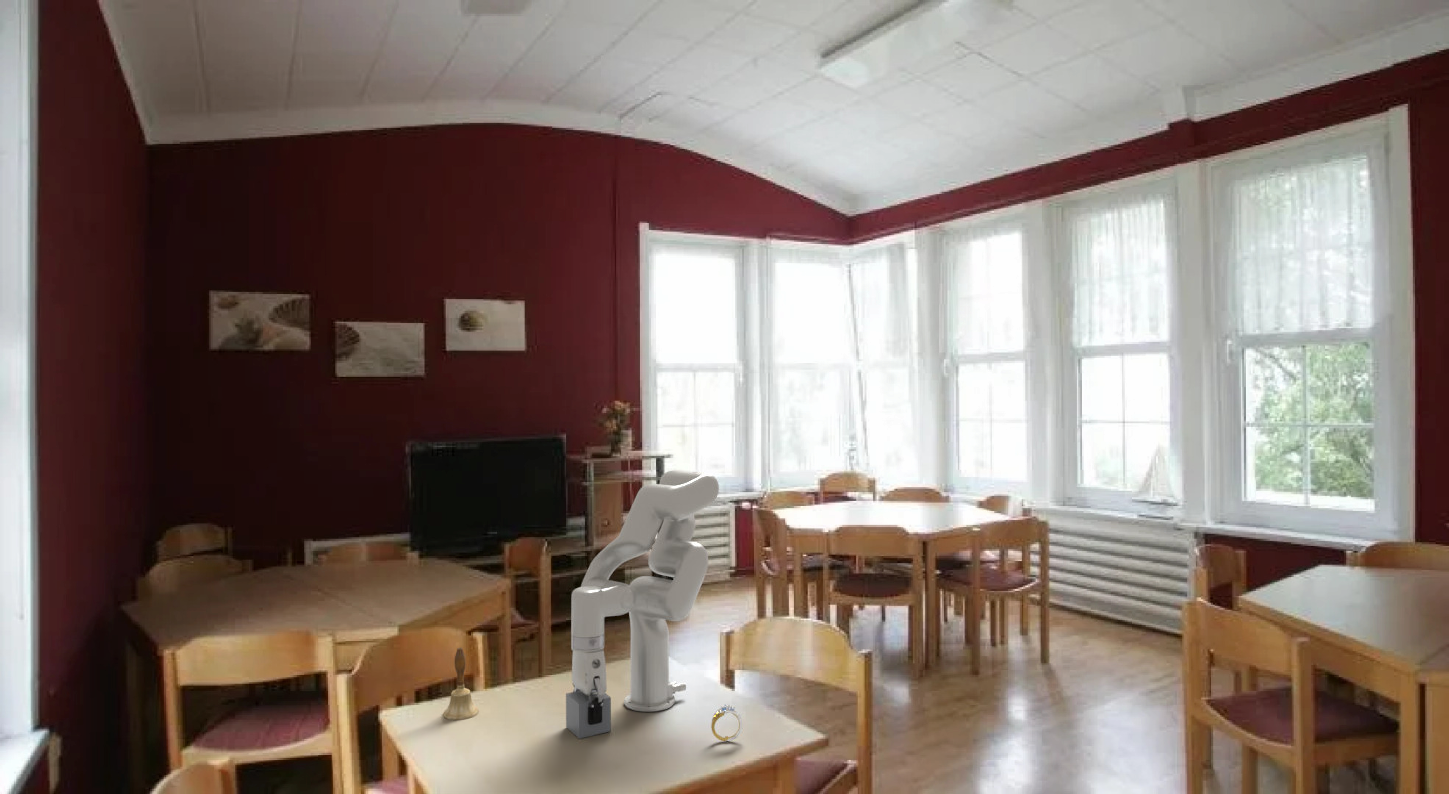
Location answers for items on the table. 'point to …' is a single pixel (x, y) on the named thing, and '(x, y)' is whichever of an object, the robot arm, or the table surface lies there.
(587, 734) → the grey cube
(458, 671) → the hand bell
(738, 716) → the ring
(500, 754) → the table surface
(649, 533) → the robot arm
